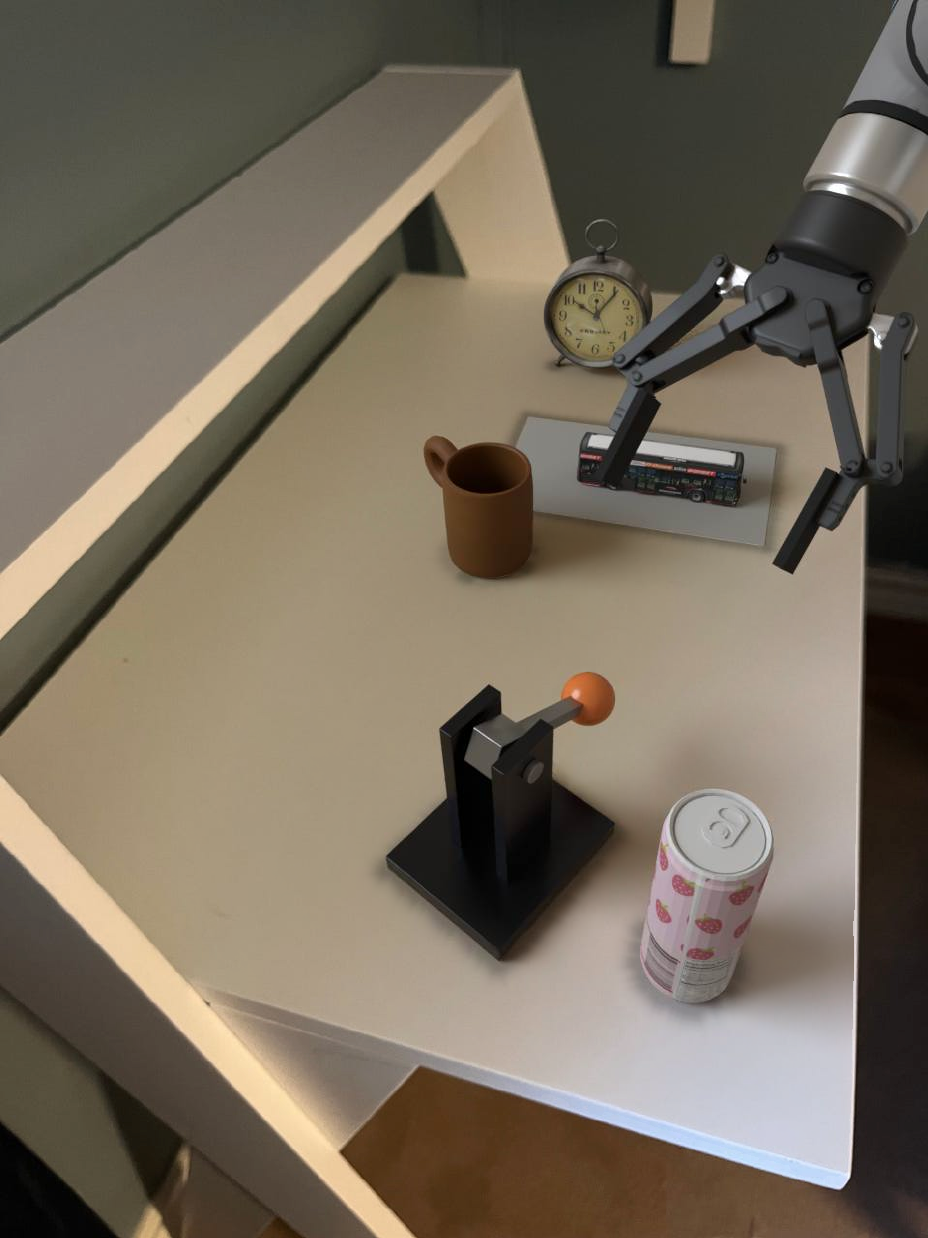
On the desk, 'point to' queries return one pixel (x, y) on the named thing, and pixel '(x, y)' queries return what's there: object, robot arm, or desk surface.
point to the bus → (652, 481)
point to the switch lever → (580, 702)
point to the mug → (484, 504)
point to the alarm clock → (596, 307)
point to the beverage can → (704, 893)
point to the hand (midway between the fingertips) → (689, 524)
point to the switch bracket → (499, 834)
